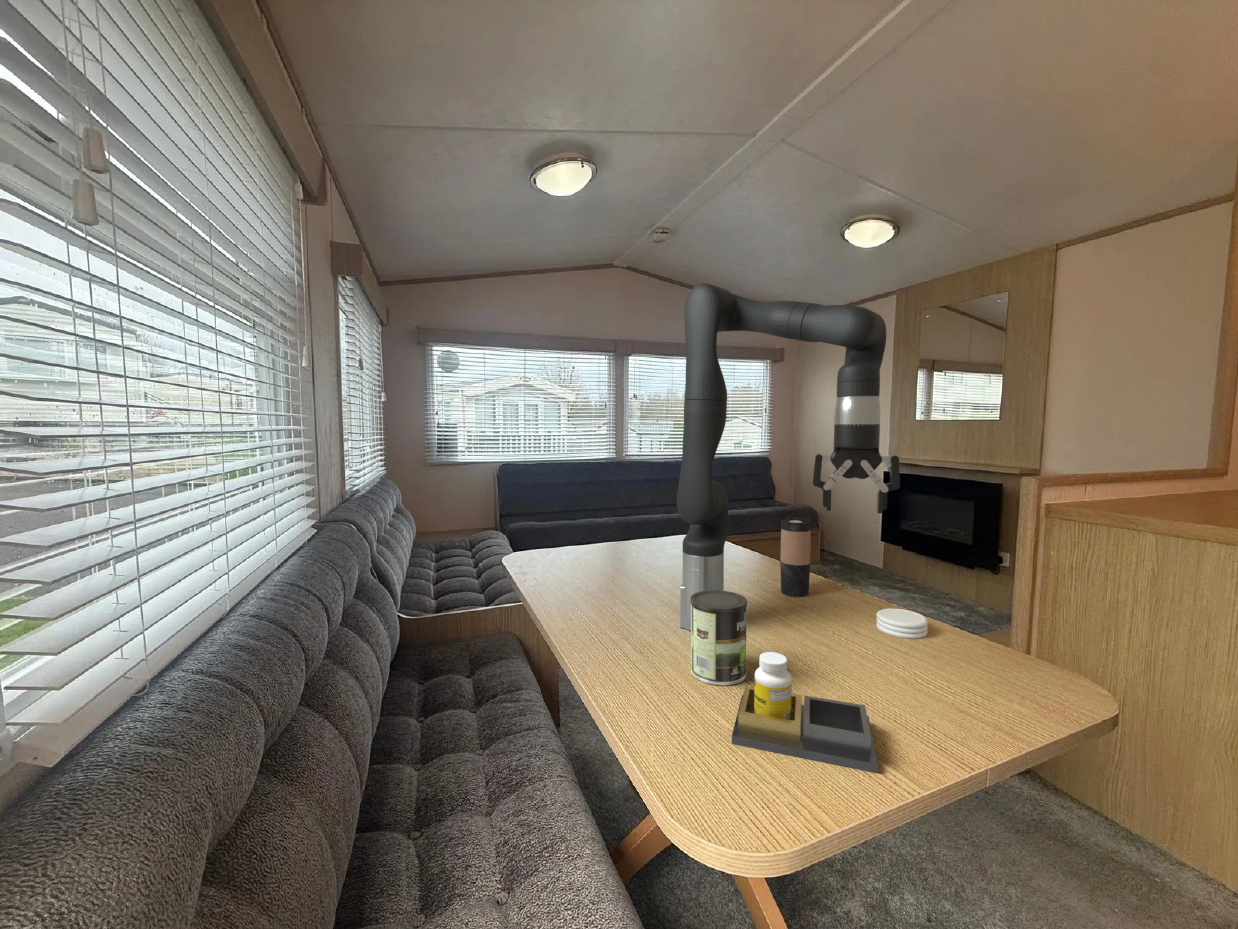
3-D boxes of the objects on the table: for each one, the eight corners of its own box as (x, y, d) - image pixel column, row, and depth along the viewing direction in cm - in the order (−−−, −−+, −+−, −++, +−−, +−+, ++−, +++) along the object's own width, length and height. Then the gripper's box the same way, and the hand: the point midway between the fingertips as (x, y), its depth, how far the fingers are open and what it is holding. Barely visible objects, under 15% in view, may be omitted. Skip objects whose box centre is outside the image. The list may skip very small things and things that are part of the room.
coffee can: (749, 664, 100) (750, 592, 99) (742, 690, 90) (743, 611, 89) (696, 656, 103) (696, 587, 102) (684, 680, 94) (684, 604, 92)
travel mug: (813, 597, 137) (815, 522, 136) (784, 597, 137) (786, 522, 136) (804, 588, 145) (805, 517, 143) (776, 588, 145) (777, 517, 143)
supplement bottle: (749, 710, 81) (750, 649, 81) (783, 709, 82) (785, 649, 81) (759, 730, 76) (761, 666, 75) (796, 729, 76) (798, 665, 75)
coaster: (938, 638, 111) (938, 622, 111) (895, 641, 110) (895, 625, 109) (906, 621, 121) (906, 606, 121) (866, 623, 120) (867, 609, 119)
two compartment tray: (731, 743, 75) (731, 719, 75) (742, 701, 86) (742, 680, 86) (877, 773, 68) (878, 746, 68) (868, 723, 80) (868, 700, 79)
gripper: (814, 422, 92) (812, 512, 94) (905, 422, 87) (901, 517, 89) (814, 422, 99) (812, 506, 101) (897, 422, 94) (894, 510, 96)
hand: (853, 511), depth 95 cm, fingers open, 8 cm apart
